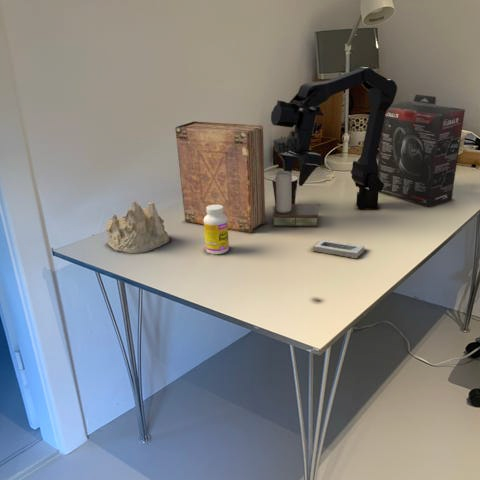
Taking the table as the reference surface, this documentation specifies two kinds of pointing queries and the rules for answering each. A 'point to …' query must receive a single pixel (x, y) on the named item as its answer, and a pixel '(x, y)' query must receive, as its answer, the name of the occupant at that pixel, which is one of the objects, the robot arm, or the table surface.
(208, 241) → the supplement bottle
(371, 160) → the robot arm
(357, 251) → the picture frame
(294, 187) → the coffee mug
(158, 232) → the beige rock formation
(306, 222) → the dark wooden slab
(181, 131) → the book
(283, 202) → the beverage can
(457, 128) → the headset box
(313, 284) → the table surface
